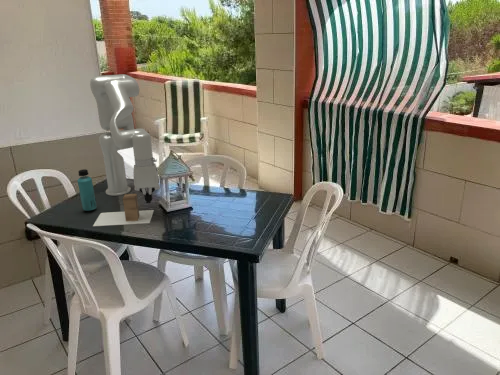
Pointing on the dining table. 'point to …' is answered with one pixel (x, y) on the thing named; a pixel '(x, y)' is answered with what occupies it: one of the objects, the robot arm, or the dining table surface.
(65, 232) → the dining table surface
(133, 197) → the walnut block
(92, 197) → the beverage bottle
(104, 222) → the white rectangular board
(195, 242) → the dining table surface
